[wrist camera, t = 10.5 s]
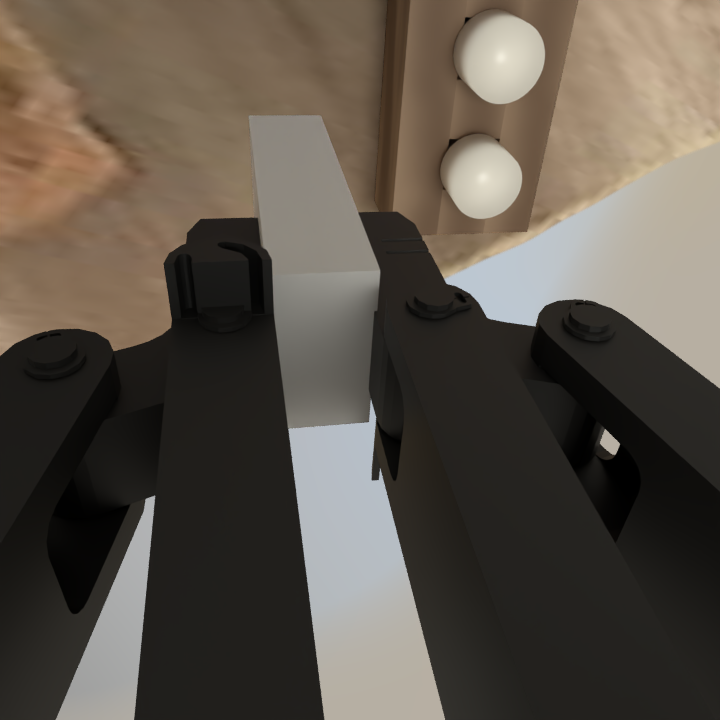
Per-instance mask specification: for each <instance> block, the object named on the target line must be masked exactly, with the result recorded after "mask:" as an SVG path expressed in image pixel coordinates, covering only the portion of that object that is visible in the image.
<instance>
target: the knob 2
mask: <svg viewBox="0 0 720 720" xmlns="http://www.w3.org/2000/svg"><path fill="white" fill-rule="evenodd" d="M440 177H441V181H442V184H443V186H444V188H445V189H446V191H447V192H448V194H449V195H450V197H451V198H452V200H453V201H454V203H455V204H456V206H457V207H458V208H459V210H460V211H461V212H462V213H464V214H465V215H467V216H469V217H472V218H476V219H486V218H491V217H494V216H496V215H498V214H500V213H502V212H504V211H505V210H506V209H507V208H508V207H510V206H511V204H512V203H513V202H514V201H515V199H516V198H517V196H518V194H519V191H520V189H521V185H522V172H521V168H520V166H519V164H518V162H517V161H516V160H515V159H514V158H513V157H512V156H511V155H510V153H509V152H508V151H507V150H506V149H505V148H504V147H503V146H502V145H501V144H500V143H499V142H498V141H497V140H496V139H494V138H493V137H491V136H488V135H485V134H472V135H468V136H465V137H463V138H461V139H449V145H448V151H447V152H446V154H445V156H444V158H443V160H442V163H441V168H440Z"/></svg>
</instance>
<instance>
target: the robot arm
mask: <svg viewBox="0 0 720 720" xmlns="http://www.w3.org/2000/svg"><path fill="white" fill-rule="evenodd" d="M249 130H250V149H251V168H252V187H253V206H254V218H223V219H200V220H199V221H198V222H197V223H196V224H195V225H194V226H193V227H192V229H191V230H190V231H189V232H188V233H187V242H186V244H184V245H181V246H180V247H178V248H177V249H175V250H174V251H172V252H171V253H169V255H168V257H167V258H166V260H165V262H164V269H165V276H166V283H167V289H168V296H169V303H170V310H171V316H172V325H171V328H170V329H169V330H168V331H166V332H165V333H164V334H163V335H161V336H159V337H157V338H155V339H153V340H151V341H149V342H145V343H142V344H139V345H136V346H133V347H129V348H125V349H121V350H117V351H113V349H112V347H111V345H110V343H109V341H108V340H107V339H105V338H104V337H102V336H100V335H99V334H97V333H95V332H90V331H86V330H81V329H58V330H51V331H48V332H42V333H39V334H35V335H33V336H31V337H29V338H26V339H24V340H22V341H20V342H18V343H16V344H14V345H13V346H12V347H10V348H9V349H8V350H7V351H6V352H4V353H3V354H2V355H1V356H0V720H55V719H56V718H57V715H58V713H59V710H60V708H61V706H62V703H63V701H64V699H65V696H66V694H67V691H68V689H69V687H70V684H71V682H72V680H73V677H74V675H75V672H76V670H77V668H78V665H79V663H80V661H81V658H82V656H83V653H84V651H85V648H86V646H87V644H88V642H89V639H90V637H91V635H92V632H93V630H94V627H95V625H96V622H97V620H98V618H99V616H100V613H101V611H102V608H103V606H104V603H105V601H106V599H107V596H108V594H109V592H110V589H111V587H112V585H113V582H114V580H115V578H116V575H117V573H118V570H119V568H120V566H121V563H122V561H123V559H124V556H125V554H126V551H127V549H128V547H129V544H130V542H131V540H132V537H133V535H134V532H135V530H136V528H137V525H138V523H139V520H140V518H141V516H142V514H143V511H144V505H145V499H146V498H149V497H152V496H154V495H155V505H154V516H153V526H152V538H151V548H150V559H149V569H148V580H147V591H146V601H145V612H144V622H143V632H142V643H141V654H140V664H139V675H138V685H137V696H136V707H135V717H134V720H324V713H323V706H322V698H321V689H320V681H319V673H318V665H317V657H316V649H315V641H314V633H313V625H312V617H311V609H310V601H309V592H308V584H307V577H306V568H305V561H304V552H303V545H302V536H301V528H300V520H299V512H298V504H297V497H296V488H295V480H294V472H293V464H292V456H291V448H290V440H289V431H288V429H289V428H301V427H314V426H326V425H339V424H351V423H364V422H369V414H370V413H369V412H370V400H372V404H373V407H374V411H375V414H376V429H375V439H374V452H373V463H372V480H379V472H380V468H381V472H382V476H383V480H384V483H385V487H386V491H387V495H388V499H389V503H390V507H391V511H392V514H393V518H394V522H395V526H396V530H397V534H398V538H399V542H400V545H401V549H402V553H403V557H404V561H405V565H406V568H407V573H408V577H409V580H410V584H411V588H412V592H413V596H414V600H415V604H416V608H417V611H418V615H419V619H420V623H421V627H422V631H423V635H424V639H425V643H426V646H427V650H428V654H429V658H430V662H431V666H432V670H433V674H434V677H435V681H436V685H437V689H438V693H439V696H440V701H441V704H442V709H443V712H444V716H445V720H720V388H718V387H717V386H716V385H714V384H713V383H711V382H710V381H709V380H708V379H706V378H705V377H704V376H702V375H701V374H700V373H698V372H697V371H696V370H695V369H693V368H692V367H691V366H689V365H688V364H687V363H686V362H684V361H683V360H682V359H680V358H679V357H678V356H676V355H675V354H674V353H673V352H671V351H670V350H669V349H667V348H666V347H665V346H663V345H662V344H661V343H659V342H658V341H657V340H656V339H654V338H653V337H652V336H650V335H649V334H648V333H646V332H645V331H644V330H643V329H641V328H640V327H639V326H637V325H636V324H634V323H633V322H632V321H631V320H629V319H628V318H627V317H625V316H624V315H622V314H620V313H619V312H617V311H615V310H613V309H612V308H609V307H606V306H603V305H600V304H598V303H596V302H593V301H588V300H586V301H583V300H576V299H575V300H563V301H556V302H554V303H551V304H549V305H546V306H545V307H544V308H543V309H542V311H541V312H540V313H539V316H538V319H537V323H536V327H535V326H527V325H520V324H513V323H506V322H500V321H496V320H491V319H488V318H487V317H486V315H485V314H484V312H483V310H482V308H481V307H480V305H479V303H478V302H477V301H476V300H475V299H474V298H473V297H472V296H471V295H470V294H469V293H467V292H465V291H464V290H462V289H460V288H458V287H456V286H452V285H448V284H446V282H445V280H444V278H443V276H442V274H441V273H440V271H439V269H438V267H437V265H436V263H435V261H434V259H433V257H432V255H431V254H430V253H428V248H427V246H426V244H425V242H424V241H422V236H421V234H420V233H419V231H418V229H417V227H416V225H415V223H413V222H412V221H410V220H409V219H407V218H406V217H404V216H403V215H402V214H400V213H399V212H361V213H358V211H357V208H356V206H355V203H354V201H353V198H352V195H351V193H350V190H349V188H348V185H347V182H346V180H345V177H344V175H343V172H342V169H341V167H340V164H339V162H338V159H337V156H336V154H335V151H334V149H333V146H332V143H331V141H330V138H329V136H328V133H327V130H326V128H325V125H324V123H323V120H322V117H321V115H269V116H249ZM605 429H606V430H607V431H608V432H609V433H610V434H611V435H612V436H613V437H614V438H615V439H616V440H617V441H618V442H619V443H620V446H619V449H618V451H617V453H616V455H612V454H610V453H609V452H608V451H607V450H606V449H604V448H603V447H602V446H601V444H600V441H601V438H602V435H603V432H604V430H605Z"/></svg>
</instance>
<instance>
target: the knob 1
mask: <svg viewBox="0 0 720 720" xmlns="http://www.w3.org/2000/svg"><path fill="white" fill-rule="evenodd" d="M453 58H454V65H455V69H456V71H457V73H458V75H459V77H460V78H461V79H462V80H463V81H464V82H465V83H466V84H467V85H468V86H469V87H470V88H471V89H472V90H473V91H474V92H475V93H476V94H477V95H478V96H479V97H481V98H482V99H483V100H485V101H487V102H490V103H494V104H506V103H510V102H513V101H516V100H518V99H520V98H521V97H523V96H524V95H525V94H526V93H528V92H529V91H530V90H531V89H532V87H533V86H534V85H535V84H536V82H537V80H538V79H539V77H540V75H541V72H542V70H543V66H544V61H545V47H544V43H543V40H542V37H541V36H540V34H539V32H538V31H537V30H536V29H535V28H534V27H533V26H532V25H530V24H529V23H527V22H525V21H524V20H522V19H520V18H518V17H516V16H515V15H513V14H511V13H509V12H507V11H505V10H501V9H490V10H485V11H483V12H480V13H478V14H476V15H475V16H473V17H472V18H471V17H465V22H464V26H463V28H462V29H461V31H460V33H459V34H458V37H457V39H456V42H455V46H454V53H453Z"/></svg>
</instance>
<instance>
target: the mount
mask: <svg viewBox="0 0 720 720" xmlns="http://www.w3.org/2000/svg"><path fill="white" fill-rule="evenodd" d="M577 4H578V0H388V3H387V19H386V34H385V49H384V64H383V80H382V95H381V110H380V125H379V141H378V156H377V171H376V187H375V202H376V205H377V207H378V209H379V211H380V212H399V213H400V214H402V215H403V216H404V217H406V218H407V219H409V220H410V221H412V222H413V223H415V225H416V227H417V229H418V231H419V233H420V234H421V235H445V234H475V233H504V232H527V230H528V226H529V221H530V217H531V212H532V208H533V203H534V199H535V194H536V189H537V185H538V180H539V176H540V171H541V167H542V162H543V158H544V153H545V149H546V144H547V140H548V135H549V131H550V126H551V122H552V117H553V113H554V108H555V104H556V99H557V94H558V90H559V85H560V81H561V76H562V72H563V67H564V63H565V58H566V54H567V49H568V45H569V40H570V36H571V31H572V27H573V22H574V18H575V13H576V8H577ZM490 9H501V10H505V11H507V12H509V13H511V14H513V15H515V16H516V17H518V18H520V19H522V20H524V21H525V22H527V23H529V24H530V25H532V26H533V27H534V28H535V29H536V30H537V31H538V32H539V34H540V36H541V37H542V40H543V43H544V47H545V61H544V66H543V70H542V72H541V75H540V77H539V79H538V80H537V82H536V84H535V85H534V86H533V87H532V89H531V90H530V91H529V92H528V93H526V94H525V95H524V96H523V97H521V98H520V99H518V100H516V101H513V102H510V103H506V104H494V103H490V102H487V101H485V100H483V99H482V98H481V97H479V96H478V95H477V94H476V93H475V92H474V91H473V90H472V89H471V88H470V87H469V86H468V85H467V84H466V83H465V82H464V81H463V80H462V79H461V78H460V77H459V75H458V73H457V71H456V69H455V65H454V58H453V53H454V46H455V42H456V39H457V37H458V34H459V33H460V31H461V29H462V28H463V26H464V22H465V17H471V18H472V17H473V16H475V15H476V14H478V13H480V12H483V11H485V10H490ZM472 134H485V135H488V136H491V137H493V138H494V139H496V140H497V141H498V142H499V143H500V144H501V145H502V146H503V147H504V148H505V149H506V150H507V151H508V152H509V153H510V155H511V156H512V157H513V158H514V159H515V160H516V161H517V162H518V164H519V166H520V168H521V172H522V185H521V189H520V191H519V194H518V196H517V198H516V199H515V201H514V202H513V203H512V204H511V206H510V207H508V208H507V209H506V210H505V211H504V212H502V213H500V214H498V215H496V216H494V217H491V218H486V219H476V218H472V217H469V216H467V215H465V214H464V213H462V212H461V211H460V210H459V208H458V207H457V206H456V204H455V203H454V201H453V200H452V198H451V197H450V195H449V194H448V192H447V191H446V189H445V188H444V186H443V184H442V181H441V177H440V168H441V163H442V160H443V158H444V156H445V154H446V152H447V151H448V145H449V139H461V138H463V137H465V136H468V135H472Z"/></svg>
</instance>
